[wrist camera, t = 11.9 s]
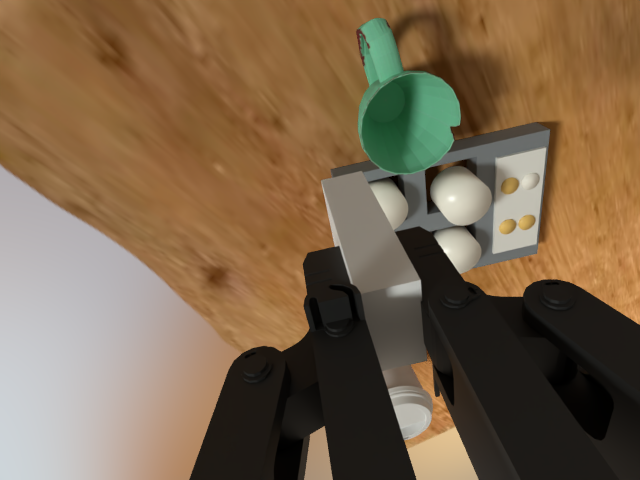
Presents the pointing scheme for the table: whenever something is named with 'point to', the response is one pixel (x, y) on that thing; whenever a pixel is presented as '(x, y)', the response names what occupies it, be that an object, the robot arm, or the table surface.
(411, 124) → the mug
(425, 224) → the board
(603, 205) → the table surface
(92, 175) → the table surface
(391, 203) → the button
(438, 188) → the button
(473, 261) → the button
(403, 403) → the coffee cup
